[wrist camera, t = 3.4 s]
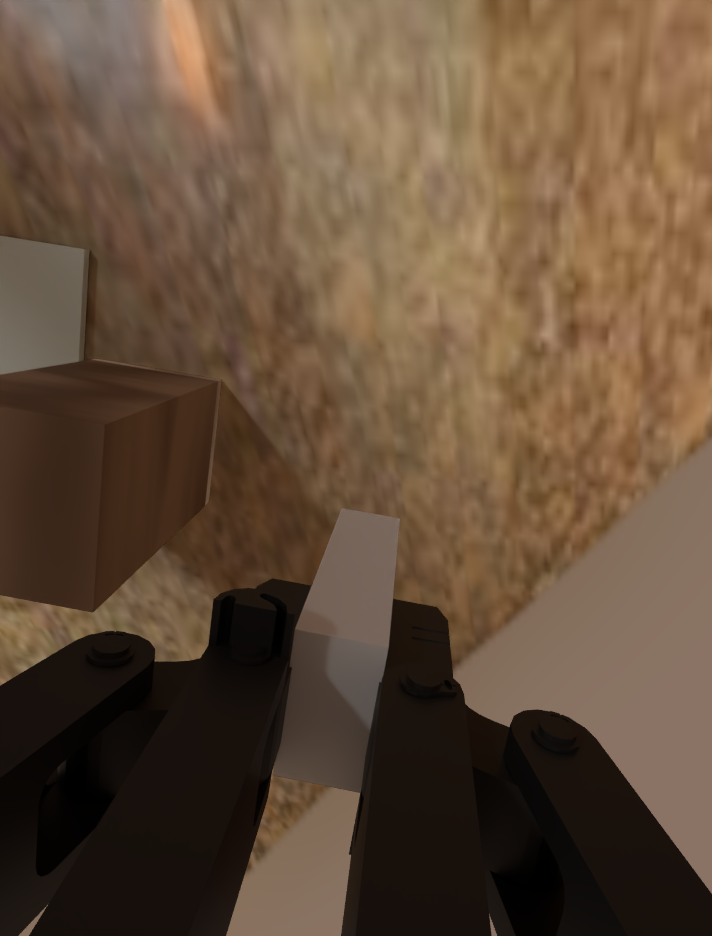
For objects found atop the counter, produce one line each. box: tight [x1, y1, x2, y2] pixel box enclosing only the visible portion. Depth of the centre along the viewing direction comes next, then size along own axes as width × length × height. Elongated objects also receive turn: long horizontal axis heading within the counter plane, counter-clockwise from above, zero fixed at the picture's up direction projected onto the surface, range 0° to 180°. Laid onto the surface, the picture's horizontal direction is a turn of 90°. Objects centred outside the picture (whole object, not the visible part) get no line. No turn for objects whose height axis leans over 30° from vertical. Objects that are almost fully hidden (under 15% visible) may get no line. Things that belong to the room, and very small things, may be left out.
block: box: [0, 359, 222, 612], centre depth 21 cm, size 5×5×10 cm
